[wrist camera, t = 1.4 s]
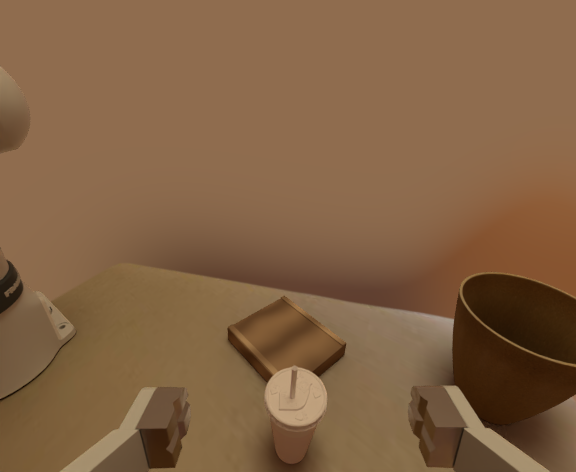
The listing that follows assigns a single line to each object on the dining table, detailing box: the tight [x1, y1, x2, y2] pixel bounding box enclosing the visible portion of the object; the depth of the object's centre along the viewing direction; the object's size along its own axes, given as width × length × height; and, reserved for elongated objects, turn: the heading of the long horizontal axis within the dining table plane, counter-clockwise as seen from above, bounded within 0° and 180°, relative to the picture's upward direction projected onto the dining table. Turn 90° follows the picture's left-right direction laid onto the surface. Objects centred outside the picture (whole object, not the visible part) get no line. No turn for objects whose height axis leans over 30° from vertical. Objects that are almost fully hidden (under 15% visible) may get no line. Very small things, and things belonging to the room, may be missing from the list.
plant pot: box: [452, 272, 576, 425], centre depth 37 cm, size 15×15×16 cm
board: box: [228, 296, 346, 382], centre depth 46 cm, size 14×12×3 cm
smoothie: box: [264, 366, 327, 464], centre depth 31 cm, size 6×6×14 cm
